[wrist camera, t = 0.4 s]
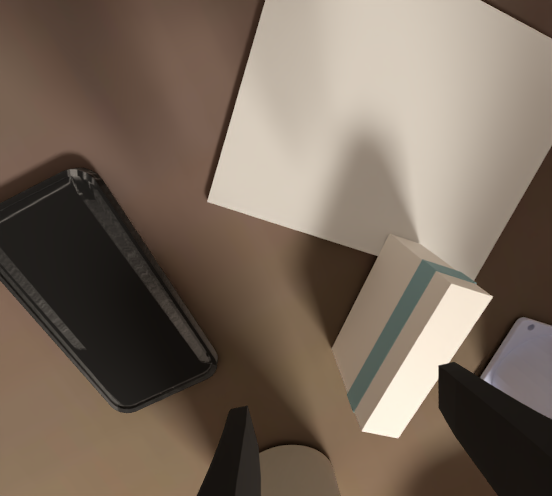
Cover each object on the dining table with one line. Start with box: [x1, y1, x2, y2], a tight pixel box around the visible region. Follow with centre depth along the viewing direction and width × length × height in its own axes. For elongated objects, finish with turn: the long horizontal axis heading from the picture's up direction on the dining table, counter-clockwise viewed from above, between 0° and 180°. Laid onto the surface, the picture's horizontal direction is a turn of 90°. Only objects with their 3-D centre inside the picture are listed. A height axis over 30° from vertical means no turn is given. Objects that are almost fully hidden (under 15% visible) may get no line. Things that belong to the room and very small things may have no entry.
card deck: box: [332, 234, 493, 438], centre depth 18 cm, size 2×9×6 cm, turn 160°
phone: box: [0, 168, 218, 413], centre depth 19 cm, size 8×1×15 cm
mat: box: [207, 0, 552, 281], centre depth 18 cm, size 18×14×1 cm
